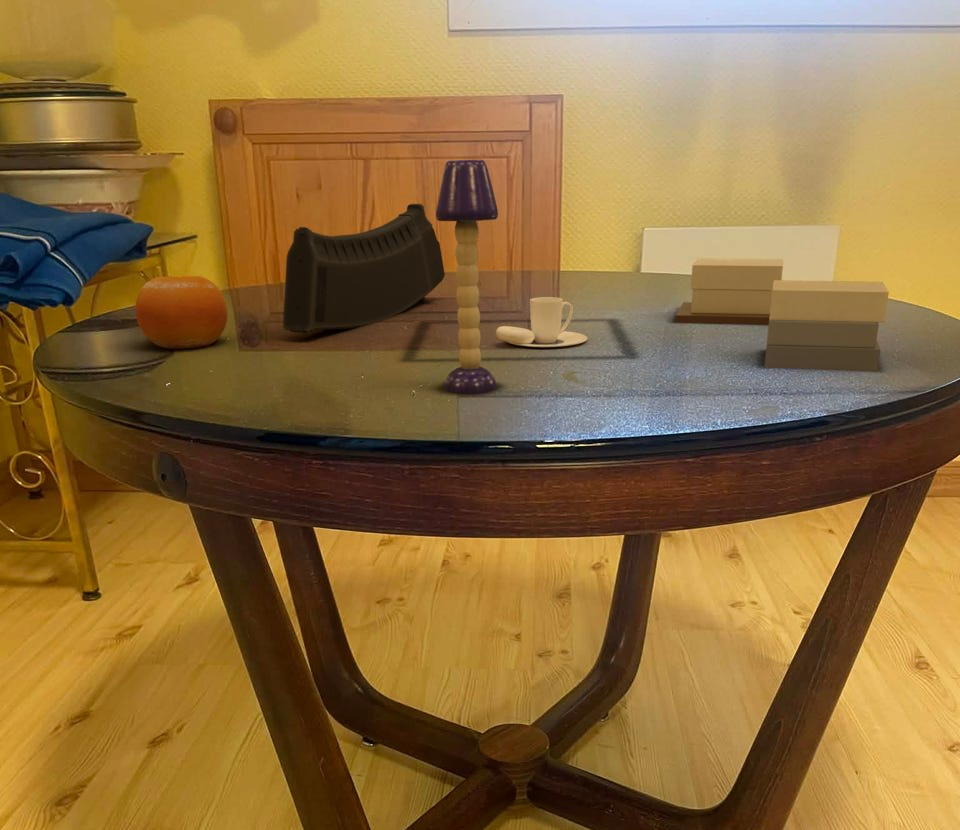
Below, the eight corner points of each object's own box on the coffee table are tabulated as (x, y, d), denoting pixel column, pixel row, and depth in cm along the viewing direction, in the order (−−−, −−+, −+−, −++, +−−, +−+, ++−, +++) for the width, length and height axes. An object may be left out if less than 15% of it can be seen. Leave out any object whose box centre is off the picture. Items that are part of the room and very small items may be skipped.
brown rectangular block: (870, 357, 89) (878, 309, 87) (876, 373, 83) (884, 323, 81) (765, 353, 91) (770, 307, 90) (764, 369, 85) (769, 321, 84)
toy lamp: (433, 387, 82) (424, 160, 75) (485, 380, 84) (481, 158, 76) (455, 399, 78) (448, 161, 71) (510, 392, 80) (509, 159, 72)
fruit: (236, 299, 104) (189, 235, 98) (248, 343, 98) (199, 278, 92) (167, 340, 105) (116, 279, 99) (175, 386, 99) (122, 324, 93)
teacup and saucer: (495, 352, 94) (495, 307, 92) (497, 336, 101) (496, 294, 99) (589, 351, 94) (591, 305, 92) (584, 335, 101) (585, 292, 99)
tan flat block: (878, 310, 87) (882, 281, 86) (884, 322, 82) (888, 291, 81) (770, 308, 89) (773, 280, 88) (769, 320, 84) (772, 289, 83)
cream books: (793, 313, 110) (799, 257, 108) (793, 327, 103) (800, 267, 100) (682, 311, 113) (686, 256, 111) (674, 324, 106) (678, 266, 103)
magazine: (288, 250, 93) (424, 140, 113) (258, 249, 95) (398, 140, 114) (331, 413, 105) (448, 288, 124) (305, 410, 106) (425, 287, 125)
